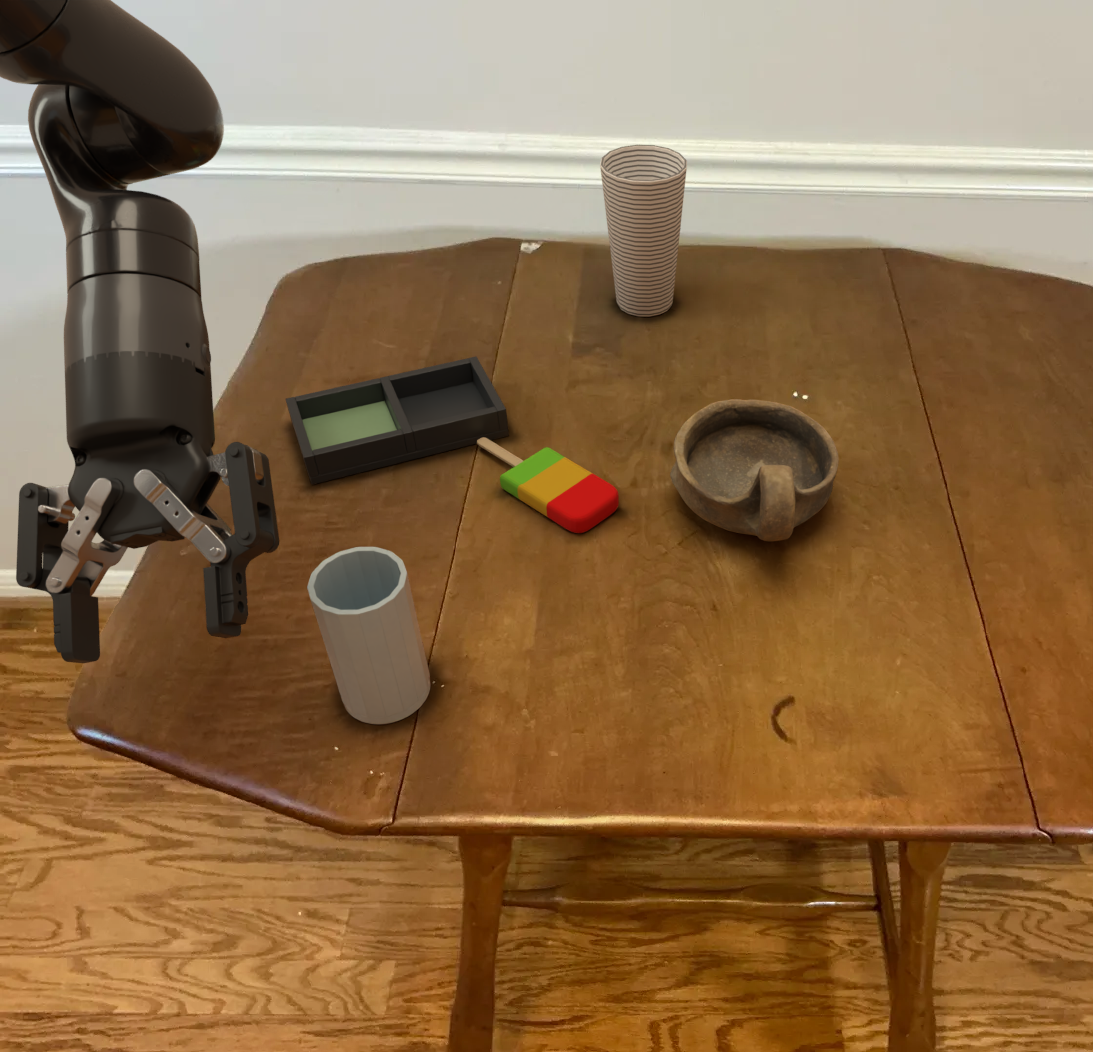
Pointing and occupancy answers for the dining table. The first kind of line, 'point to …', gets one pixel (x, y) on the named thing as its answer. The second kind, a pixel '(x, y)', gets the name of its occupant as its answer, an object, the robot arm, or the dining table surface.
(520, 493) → the popsicle
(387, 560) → the tumbler
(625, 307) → the cup
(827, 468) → the bowl
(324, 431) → the tray
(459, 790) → the dining table surface
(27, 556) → the robot arm
